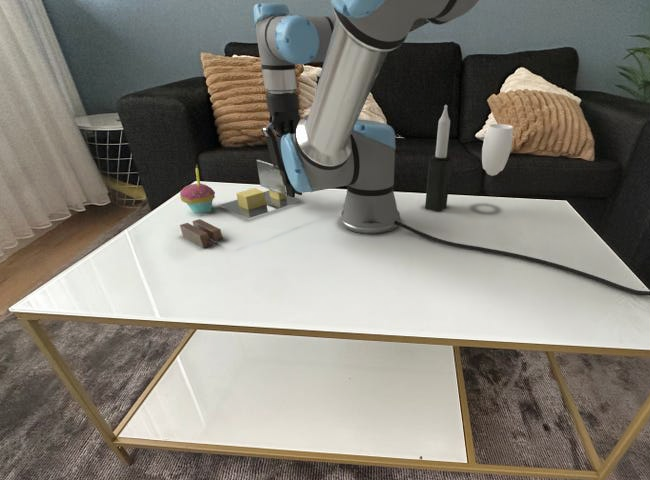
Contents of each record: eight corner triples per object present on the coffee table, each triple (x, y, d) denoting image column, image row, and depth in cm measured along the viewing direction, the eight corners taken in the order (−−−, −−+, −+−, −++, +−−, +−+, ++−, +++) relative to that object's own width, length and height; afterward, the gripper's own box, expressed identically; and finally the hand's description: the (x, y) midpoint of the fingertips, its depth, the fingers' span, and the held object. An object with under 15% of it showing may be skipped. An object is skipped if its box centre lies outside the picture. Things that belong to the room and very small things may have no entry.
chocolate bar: (223, 241, 96) (220, 229, 94) (203, 248, 93) (199, 235, 91) (203, 230, 100) (199, 218, 98) (183, 237, 97) (179, 225, 95)
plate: (301, 203, 116) (301, 201, 116) (248, 220, 105) (247, 218, 105) (271, 191, 123) (271, 189, 122) (218, 207, 112) (218, 205, 112)
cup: (467, 207, 116) (479, 124, 102) (486, 202, 119) (500, 122, 105) (485, 215, 111) (500, 130, 98) (504, 210, 114) (521, 127, 101)
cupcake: (223, 207, 112) (212, 160, 105) (210, 218, 106) (197, 170, 98) (194, 205, 113) (180, 159, 105) (179, 217, 106) (164, 168, 99)
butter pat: (286, 198, 117) (284, 185, 115) (279, 200, 116) (277, 187, 113) (276, 194, 119) (275, 182, 117) (269, 196, 118) (267, 184, 116)
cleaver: (306, 200, 109) (303, 170, 104) (301, 202, 107) (298, 172, 103) (264, 185, 118) (259, 157, 113) (258, 186, 117) (253, 158, 112)
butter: (266, 204, 113) (264, 191, 111) (248, 210, 109) (245, 197, 107) (257, 200, 115) (254, 187, 113) (238, 206, 112) (236, 193, 109)
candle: (432, 203, 118) (441, 102, 102) (447, 206, 116) (460, 104, 100) (423, 208, 115) (431, 105, 98) (439, 212, 113) (450, 107, 96)
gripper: (296, 87, 101) (306, 186, 116) (244, 92, 92) (263, 198, 107) (316, 90, 97) (324, 191, 112) (264, 95, 88) (281, 205, 103)
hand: (294, 194), depth 109 cm, fingers closed on cleaver, 2 cm apart
